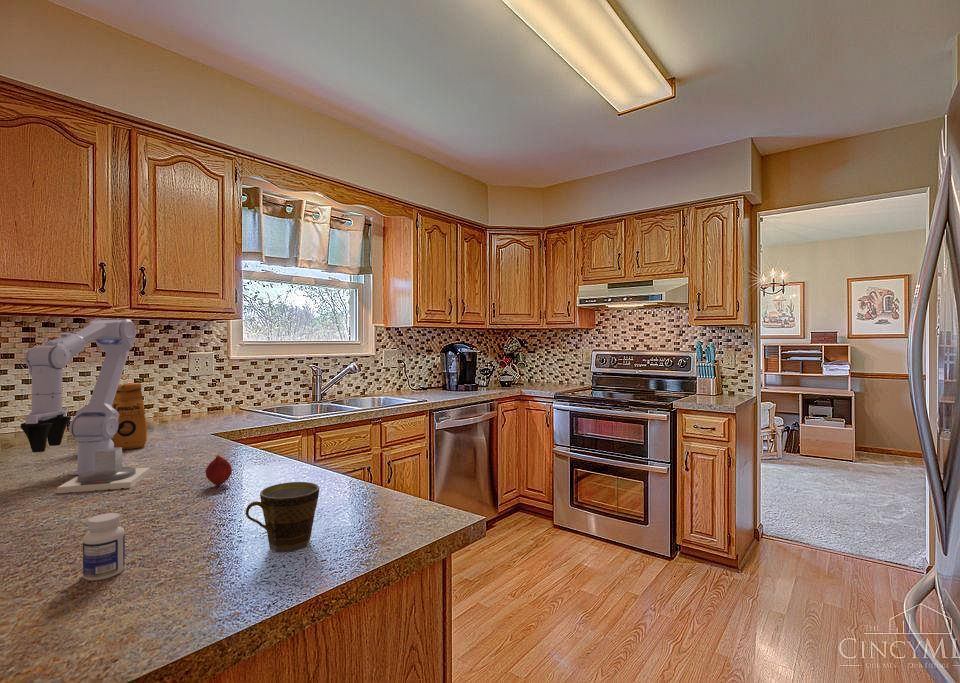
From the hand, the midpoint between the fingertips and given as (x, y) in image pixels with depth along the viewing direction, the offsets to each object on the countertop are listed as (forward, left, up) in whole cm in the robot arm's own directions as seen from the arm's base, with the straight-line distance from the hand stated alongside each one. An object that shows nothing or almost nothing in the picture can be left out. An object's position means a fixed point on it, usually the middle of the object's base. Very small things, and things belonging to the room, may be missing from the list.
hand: (46, 448), depth 122 cm
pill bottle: (+57, +32, -10) cm, 66 cm away
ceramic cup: (+55, +58, -10) cm, 81 cm away
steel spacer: (-2, +12, -7) cm, 14 cm away
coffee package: (-48, +1, -10) cm, 49 cm away
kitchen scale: (-2, +12, -10) cm, 16 cm away
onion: (+10, +40, -10) cm, 42 cm away
